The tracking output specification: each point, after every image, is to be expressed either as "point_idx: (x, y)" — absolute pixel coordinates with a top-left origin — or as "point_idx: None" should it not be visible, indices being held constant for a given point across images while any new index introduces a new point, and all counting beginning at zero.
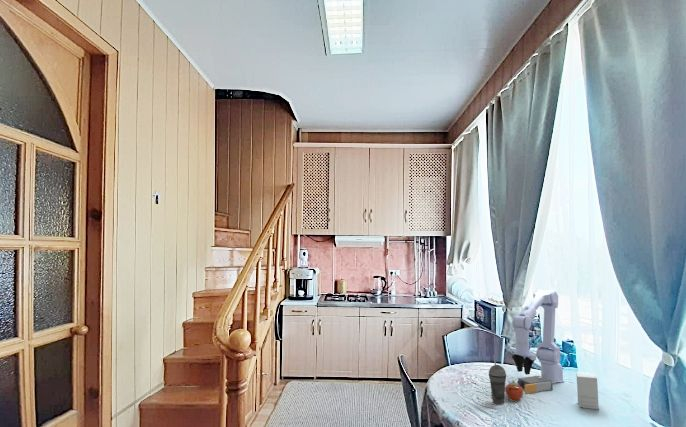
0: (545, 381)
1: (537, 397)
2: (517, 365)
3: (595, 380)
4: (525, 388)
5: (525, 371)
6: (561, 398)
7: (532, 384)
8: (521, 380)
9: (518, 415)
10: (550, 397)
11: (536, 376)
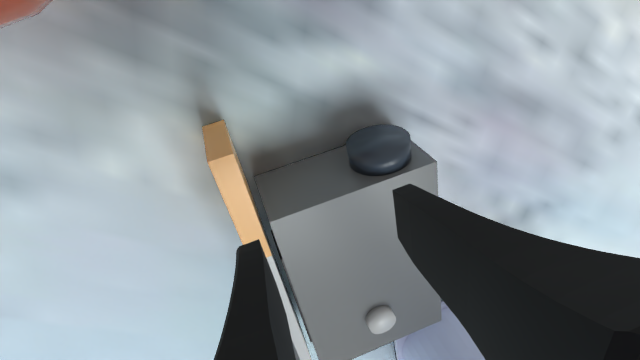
0: (311, 336)
1: (100, 187)
2: (450, 235)
3: None
4: (217, 141)
5: (235, 275)
6: (95, 337)
7: (238, 231)
8: (385, 172)
9: None
10: (113, 279)
11: (430, 304)
